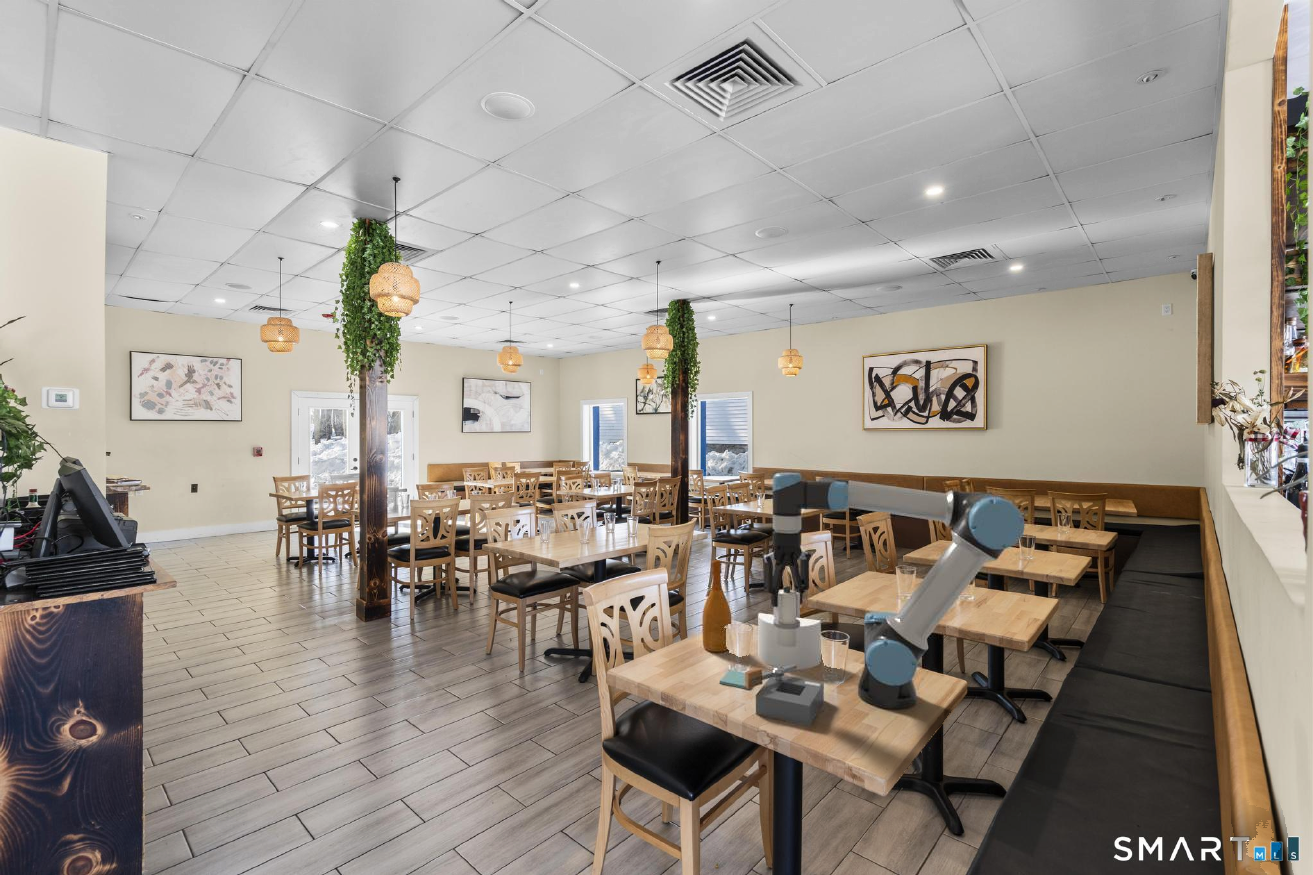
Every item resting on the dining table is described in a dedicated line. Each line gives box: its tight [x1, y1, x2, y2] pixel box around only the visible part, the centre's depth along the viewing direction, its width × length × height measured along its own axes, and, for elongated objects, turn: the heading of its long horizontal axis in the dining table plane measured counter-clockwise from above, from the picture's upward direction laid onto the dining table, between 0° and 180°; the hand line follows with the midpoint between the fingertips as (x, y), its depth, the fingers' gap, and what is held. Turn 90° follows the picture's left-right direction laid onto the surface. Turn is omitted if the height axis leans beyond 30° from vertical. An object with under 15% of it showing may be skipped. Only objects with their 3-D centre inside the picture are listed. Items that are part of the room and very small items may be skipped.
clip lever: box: [744, 664, 798, 689], centre depth 166 cm, size 18×3×4 cm, turn 123°
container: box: [757, 612, 822, 670], centre depth 198 cm, size 20×20×13 cm
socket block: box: [755, 674, 825, 727], centre depth 162 cm, size 14×16×6 cm
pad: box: [719, 669, 751, 690], centre depth 179 cm, size 9×9×1 cm
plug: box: [773, 585, 800, 647], centre depth 163 cm, size 7×7×16 cm
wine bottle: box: [701, 559, 732, 653], centre depth 206 cm, size 10×10×30 cm
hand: (786, 617), depth 163 cm, fingers closed on plug, 5 cm apart
